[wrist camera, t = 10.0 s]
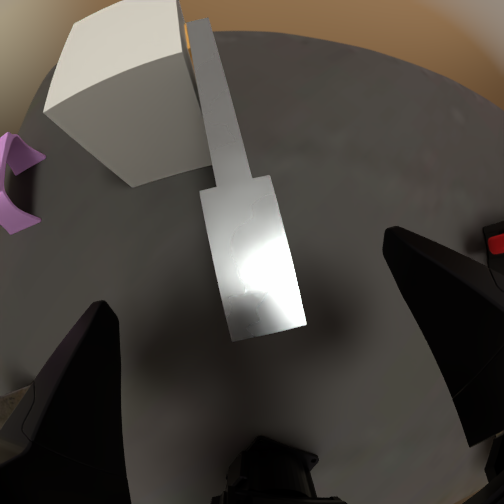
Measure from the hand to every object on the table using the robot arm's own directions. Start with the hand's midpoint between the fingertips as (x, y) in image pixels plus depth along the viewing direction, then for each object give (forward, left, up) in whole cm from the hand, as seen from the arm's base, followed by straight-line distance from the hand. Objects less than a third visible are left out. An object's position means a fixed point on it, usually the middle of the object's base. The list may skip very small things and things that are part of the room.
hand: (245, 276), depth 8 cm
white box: (+14, -8, -13) cm, 21 cm away
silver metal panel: (+4, -4, -13) cm, 14 cm away
